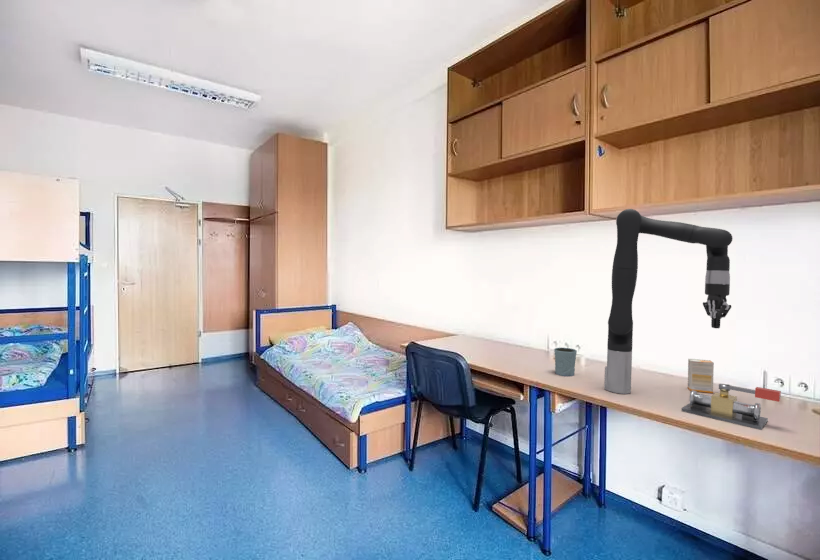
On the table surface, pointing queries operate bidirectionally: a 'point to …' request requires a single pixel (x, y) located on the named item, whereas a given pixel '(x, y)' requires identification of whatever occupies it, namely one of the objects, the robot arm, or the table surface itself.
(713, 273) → the robot arm
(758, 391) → the valve lever
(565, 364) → the grey-green tapered cup
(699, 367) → the supplement box
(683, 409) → the valve body
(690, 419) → the table surface
